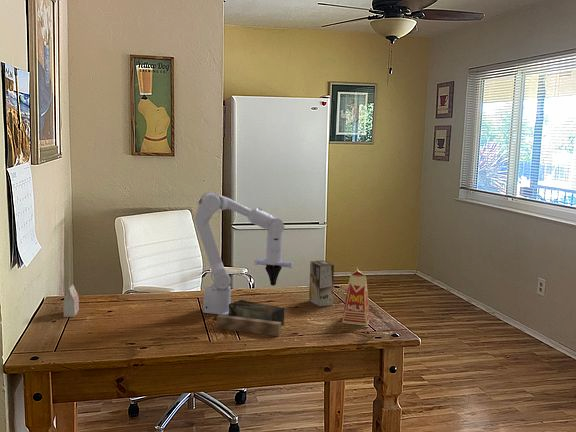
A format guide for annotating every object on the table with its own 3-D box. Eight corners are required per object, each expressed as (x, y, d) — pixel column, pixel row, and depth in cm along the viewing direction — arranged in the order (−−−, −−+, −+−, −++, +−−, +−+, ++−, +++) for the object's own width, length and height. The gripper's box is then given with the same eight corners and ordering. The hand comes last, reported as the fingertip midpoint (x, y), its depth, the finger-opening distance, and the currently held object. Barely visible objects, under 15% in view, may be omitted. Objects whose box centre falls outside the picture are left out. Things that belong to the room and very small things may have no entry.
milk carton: (367, 325, 204) (370, 269, 202) (341, 323, 206) (343, 267, 203) (369, 317, 213) (372, 264, 211) (344, 315, 215) (346, 262, 212)
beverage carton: (240, 314, 214) (241, 297, 213) (285, 324, 204) (286, 306, 203) (227, 320, 207) (227, 302, 206) (273, 330, 197) (273, 312, 196)
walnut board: (216, 328, 198) (216, 316, 197) (219, 325, 200) (219, 314, 199) (278, 336, 191) (278, 324, 191) (280, 333, 194) (281, 322, 193)
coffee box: (333, 305, 228) (335, 264, 226) (318, 306, 225) (320, 266, 223) (322, 298, 236) (323, 260, 234) (308, 300, 233) (309, 261, 231)
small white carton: (63, 317, 205) (62, 289, 203) (68, 311, 211) (67, 284, 210) (74, 316, 205) (74, 289, 204) (78, 311, 212) (78, 284, 210)
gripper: (252, 249, 216) (251, 285, 217) (290, 252, 212) (288, 289, 214) (258, 246, 222) (257, 281, 224) (295, 249, 218) (294, 284, 220)
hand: (273, 284), depth 219 cm, fingers closed
